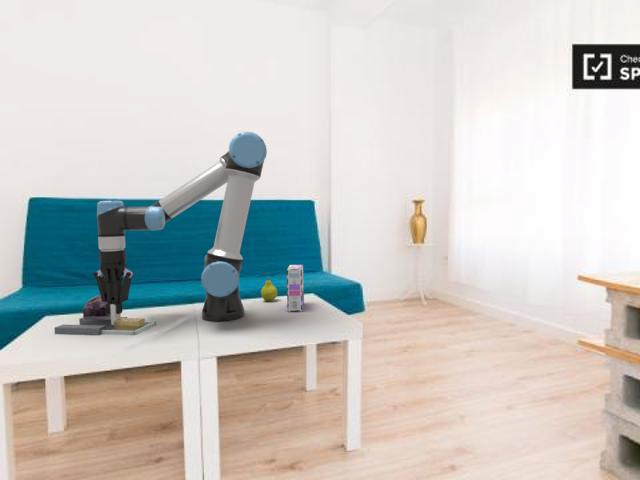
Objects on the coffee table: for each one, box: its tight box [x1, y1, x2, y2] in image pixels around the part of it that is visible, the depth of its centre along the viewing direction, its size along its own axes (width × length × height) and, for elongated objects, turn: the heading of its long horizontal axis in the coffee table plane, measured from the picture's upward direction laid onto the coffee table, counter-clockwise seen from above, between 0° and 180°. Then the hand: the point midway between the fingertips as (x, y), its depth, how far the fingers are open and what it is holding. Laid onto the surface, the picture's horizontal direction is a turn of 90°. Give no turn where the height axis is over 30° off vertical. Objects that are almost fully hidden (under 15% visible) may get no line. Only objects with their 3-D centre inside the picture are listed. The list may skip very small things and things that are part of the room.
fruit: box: [260, 273, 278, 302], centre depth 176 cm, size 7×7×12 cm
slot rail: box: [54, 316, 128, 336], centre depth 133 cm, size 15×14×4 cm
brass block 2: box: [125, 317, 146, 331], centre depth 131 cm, size 4×4×4 cm
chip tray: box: [101, 320, 157, 336], centre depth 131 cm, size 11×12×2 cm
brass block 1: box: [113, 317, 134, 331], centre depth 131 cm, size 4×4×4 cm
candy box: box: [286, 264, 305, 313], centre depth 162 cm, size 14×6×16 cm, turn 179°
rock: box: [82, 293, 110, 318], centre depth 149 cm, size 12×9×10 cm
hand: (116, 323), depth 132 cm, fingers closed
